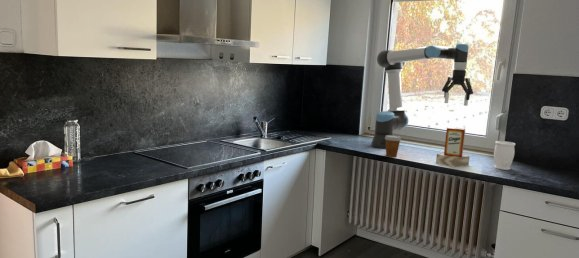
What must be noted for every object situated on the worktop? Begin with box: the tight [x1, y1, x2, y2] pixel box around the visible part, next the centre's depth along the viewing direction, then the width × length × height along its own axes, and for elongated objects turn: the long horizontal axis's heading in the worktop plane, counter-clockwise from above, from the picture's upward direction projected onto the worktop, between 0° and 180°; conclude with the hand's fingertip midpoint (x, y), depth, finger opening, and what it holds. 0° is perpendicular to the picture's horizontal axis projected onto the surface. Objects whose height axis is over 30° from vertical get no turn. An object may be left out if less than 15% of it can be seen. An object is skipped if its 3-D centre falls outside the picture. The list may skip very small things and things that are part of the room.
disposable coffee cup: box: [385, 134, 401, 158], centre depth 273 cm, size 10×10×12 cm
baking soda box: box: [443, 126, 466, 157], centre depth 258 cm, size 10×6×16 cm
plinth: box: [435, 152, 471, 168], centre depth 260 cm, size 12×14×5 cm
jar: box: [493, 140, 516, 171], centre depth 253 cm, size 11×10×15 cm
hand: (455, 104), depth 277 cm, fingers open, 13 cm apart
